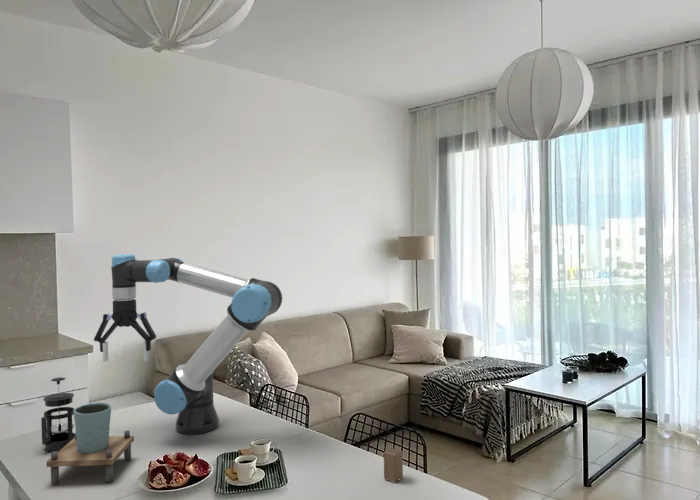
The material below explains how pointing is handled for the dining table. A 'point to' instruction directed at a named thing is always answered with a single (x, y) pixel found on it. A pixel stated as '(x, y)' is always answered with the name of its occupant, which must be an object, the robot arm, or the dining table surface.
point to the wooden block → (393, 464)
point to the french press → (59, 430)
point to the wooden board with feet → (91, 456)
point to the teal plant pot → (92, 427)
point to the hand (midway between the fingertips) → (126, 360)
